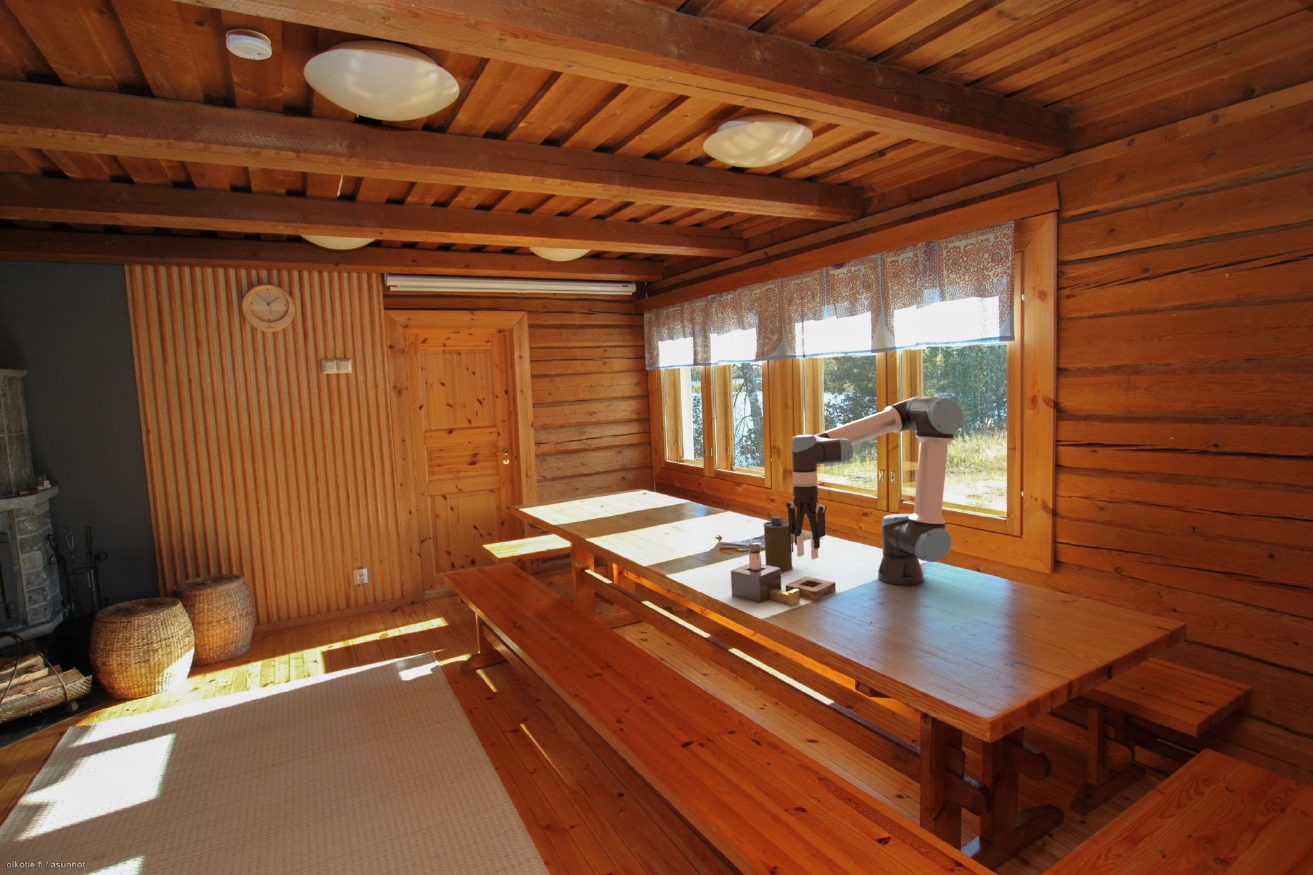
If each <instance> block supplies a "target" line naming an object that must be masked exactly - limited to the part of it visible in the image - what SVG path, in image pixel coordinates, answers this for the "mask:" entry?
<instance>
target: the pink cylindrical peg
mask: <svg viewBox="0 0 1313 875" xmlns="http://www.w3.org/2000/svg"><path fill="white" fill-rule="evenodd" d="M761 544H762V543H761V542H759V541H751V542H749V543H748V557H749V558H748V560H749V563H748V564H750V571H753V572H760V571H762V566H761V564H762V550H761V549H762V547H761V546H762V545H761Z"/></svg>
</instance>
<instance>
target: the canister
mask: <svg viewBox="0 0 1313 875" xmlns="http://www.w3.org/2000/svg"><path fill="white" fill-rule="evenodd" d="M769 519H770V520H771V521H766V522H763V530H764V531H763V532H764V534H763V535H764V556H765V565H768V566H773V567H778V568H781V573H785V572H790V571H791V570H793V556H792V554H793V553H794V534H792V533H789V521H785V520H783V517H782V516H775V515H773V516H771V517H769Z"/></svg>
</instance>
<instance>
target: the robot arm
mask: <svg viewBox="0 0 1313 875" xmlns="http://www.w3.org/2000/svg"><path fill="white" fill-rule="evenodd" d="M963 422H964V413H963V409H962V407H961V406H960V405H959V404H958V401H956V400H954V399H953V398H950V397H945V396H914V397H911V398H908V399H904V400H903V401H899V402H897V403H894V404H891V405H889V406H886V407H885V408H884V410H883V411H881V412H877V413H874V414H871V415H868V416H866V417H863V418H859V419H857V420H854V421H852V422H848V423H846V424H844V425H840V426H837V427H835V428H831V429H829V430H825V431H823V432H820V433H817V434H798V435H795V436H793V437H792V439H791V449H790V451H791V458H792V459H791V460H792V484H794V485H793V488H792V490H793V492H792V493H793V501H789V502H786V505H785V506H786V508H787V517H788V518H787V519H788V521H787V522H789V533H792V534H793V537H794V545H795V546H796V556H797V557H798V558H800V557H803V556H804V555H805V546H804V543H805V541H804V534H803V532H802V530H803V524H804V520H805V516H806V517H807V519H808V522H809V526H810V530H811V534H812V537H811V538H810V551H811V552H810V555H811V556H810V558H811V560H816V559H817V558H818V559H819V549H820V548H821V539H820V538H824V537H825V536H826V511H827V505H823V504H821V503H819V501H818V496H819V492H818V490H819V488H818V487H819V486H818V484H817V483H818V465H823V464H834V463H835V464H836V463H840V464H841V463H846V462H848V461H849V462H850V460H851V459H852V457H853V455H854V451H853V446H855V445H857V444H858V445H859V444H860V443H863V442H867V441H869V440H871V439H874V438H877V437H880V436H883V435H885V434H889V433H891V432H892V433H893V434H894V433H895V434H897V433H900V432H903V431H915V438H916V439H917V440H918V441H919V451H918V462H917V471H916V472H917V473H916V484H915V492H914V493H915V495H914V503H913V504H914V506H913V513H894V514H888V515H885V516H883V517H882V519H881V529H882V531H881V535H882V537H881V540H882V559H881V560H880V564H879V568H878V569H877V570H878V571H877V573H878V574H877V576H878V577H877V578H878V579H879V580H880V581H881V582H883V583H887V584H891V585H899V586H900V585H901V586H903V585H904V586H905V585H906V586H907V585H908V586H909V585H910V586H911V585H917V584H920V583H922V582H923V581H924V571H923V569H922V565H921V563H920V561H923V562H928V563H937V562H939V561H941V560H943V559H944V557H947V555H948V554H949V552H950V550H951V547H952V536H951V535H950V533H949V532H948V531H947V530H946V523H947V521H946V520H945V519H944V518H943V517H942V511H943V501H944V491H945V489H944V488H945V478H946V468H947V457H948V448H949V447H948V445H949V444H950V443H951V442H952V441H953V440H954V438H955V436H954V435H955V433H957V432H958V431H959V430H960V428H962V425H963ZM816 511H817V512H816Z"/></svg>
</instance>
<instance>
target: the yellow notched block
mask: <svg viewBox="0 0 1313 875" xmlns="http://www.w3.org/2000/svg"><path fill="white" fill-rule="evenodd" d="M800 599H801V597H800V595H799V589H793V590H791V591H789V592H786V590H782V589H781V590H777V589H773V588H770V589H768V600H773V601H777V602H781V603H786V604H788V606H791V607H794V606H796V605H798V604H801V600H800Z"/></svg>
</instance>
